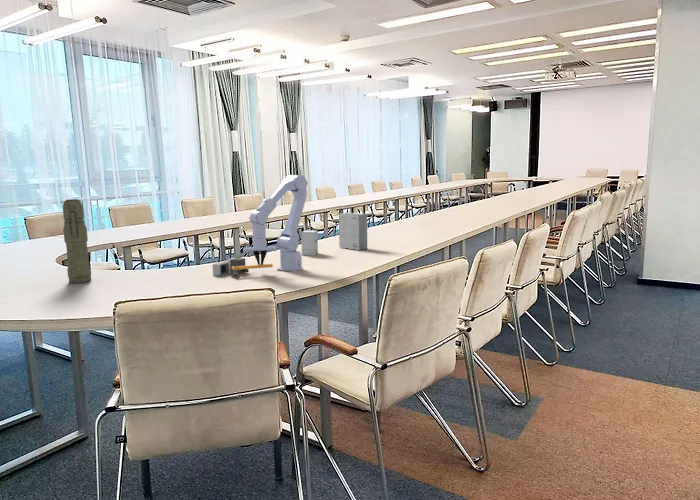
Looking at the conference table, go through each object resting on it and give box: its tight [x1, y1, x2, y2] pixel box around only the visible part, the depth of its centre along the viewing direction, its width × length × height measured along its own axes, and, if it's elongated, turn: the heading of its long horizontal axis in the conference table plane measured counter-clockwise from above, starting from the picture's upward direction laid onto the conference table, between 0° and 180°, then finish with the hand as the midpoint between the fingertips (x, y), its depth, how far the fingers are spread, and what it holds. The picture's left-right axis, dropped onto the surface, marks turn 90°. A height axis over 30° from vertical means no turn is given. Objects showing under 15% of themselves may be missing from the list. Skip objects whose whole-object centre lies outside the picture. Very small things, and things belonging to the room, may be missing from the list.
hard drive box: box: [338, 212, 368, 251], centre depth 299 cm, size 16×8×20 cm, turn 49°
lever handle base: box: [230, 270, 240, 279], centre depth 231 cm, size 4×4×3 cm
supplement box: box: [300, 230, 319, 256], centre depth 283 cm, size 7×7×13 cm
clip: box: [232, 263, 274, 270], centre depth 233 cm, size 3×18×2 cm, turn 108°
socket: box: [212, 259, 229, 277], centre depth 241 cm, size 4×16×5 cm, turn 157°
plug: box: [227, 257, 250, 275], centre depth 239 cm, size 9×5×6 cm, turn 67°
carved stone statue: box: [62, 198, 92, 285], centre depth 223 cm, size 9×12×35 cm
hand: (260, 267), depth 236 cm, fingers closed
